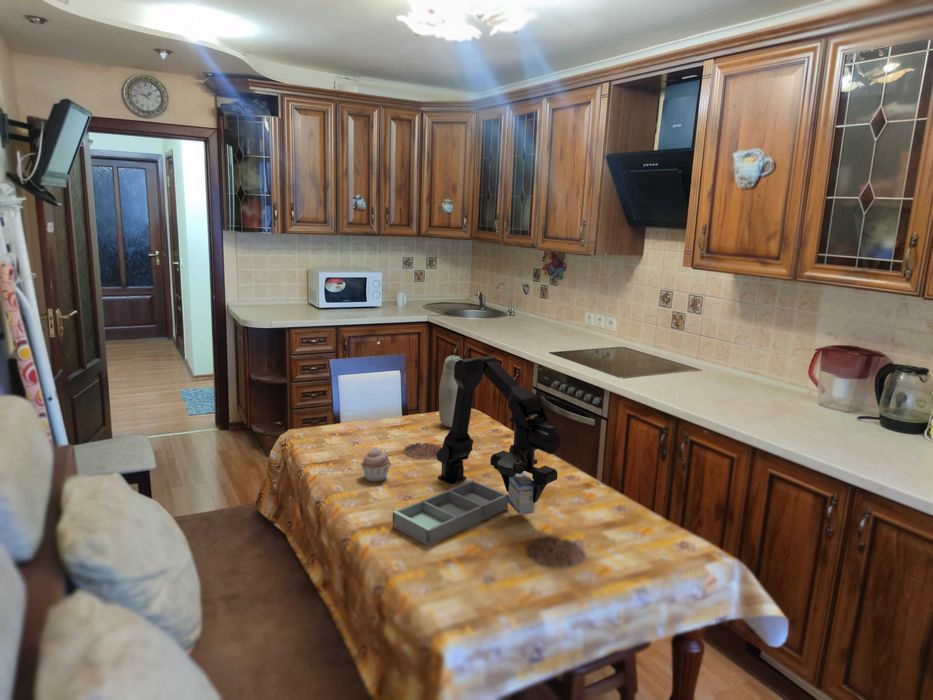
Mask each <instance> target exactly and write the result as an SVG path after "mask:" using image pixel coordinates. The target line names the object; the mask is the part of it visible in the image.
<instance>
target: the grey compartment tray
mask: <svg viewBox="0 0 933 700" xmlns="http://www.w3.org/2000/svg"><path fill="white" fill-rule="evenodd" d="M508 507H509V503H508V493H504V492H502V491H499V490H497V489H495V488H492V487H490V486H487V485H485V484H483V483H480V482H478V481H475V480H470V481H467V482H465V483H462V484H459V485H457V486H454V487H451V488H450V489H447V490H445V491H442V492H440V493H438V494H434V495H432V496H430V497H428V498H425V499H422V500H420V501H417V502H414V503H412V504H410V505H407V506H405V507H402V508H400V509H398V510H396V509H395V510H393V511H392V527H393V528H394V529H397V530H398V531H400V532H402V533H404V534H405V535H407V536H409V537H411V538H413V539H415V540H417V541H419V543H422V544H424V545H425V546H428V547H430V546H432V545H434V544H436V543H438V542H441V541H442V540H445V539H446V538H449V537H450V536H451V537H452V535H453V536H454V534H457V533H460V532H461V531H463V530H465V529H468V528H469V527H471V526H473V525H476V524H478V523H479V522H480V523H481V522H482V521H484V520H486V519H488V518H490V517H492V516H494V515H496V514H498V513H500V512H503V511H505V510H507V509H508Z"/></svg>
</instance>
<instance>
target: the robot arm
mask: <svg viewBox="0 0 933 700" xmlns="http://www.w3.org/2000/svg"><path fill="white" fill-rule="evenodd" d="M483 376H485V377H486V378H487V379H488V381H490V383H492V385H493V386H494V387H495V388H496V389H497V390H498V391H499V392H500V393H501V394H502V395H503V397H504V398H505V399H506V400H507V401H506V402H507V403H506V405H507V408H508V409H509V411H510V412H511V414H512V417H510V418H509V419H508V422H510V423H512V424H514V430H513V444H511V445H510V447H509V451H506V450H501V451H499V452H496V453H493V454H491V457H490V462H489V463H490V464H489V465H490V466H493V469H495V470H496V471H497V472H498V473H499V474H500V475H501V478H502V481H503V484H504V488H505V490H506V492H507V493H508V490H509V477H514V476H515V475H516V473H517V474H521V473H522V472H526V473H529V474H531V479H532V480H533V481H532V482H531V483H532V484H533V485H534V489H533V503H535V504H537V502H538V500H539V498H540V497H541V495H542V493H543V491H544V489H545V488H546V487H547V485H549V484H551V483H552V482H555V481H557V480H558V471H557V470H556V468H553V467H550V466H547V465H543V466H541V467H537V466H535V465H537V464H538V459H535V454H536V450H539V451H541V452H544V453H545V454H548V455H553V454H555V453H556V452H557V451H558V450H559V448H560V445H561V442H562V441H561V435H560V434H559V433H558V432H556V430H557V429H556V427H555V426H552V425H548V424H547V423H549V422H550V421H549V419H548V414H547V412H546V410H545V409H544V406H543V404H542V400H541V398H540V397H539V396H538V395H537V394H535V392H533V391H532V390H531V389H527V388H525V387H523V386H521V385H519V383H518V382H517V381H516V379H514V378H513V377H512V376H511V375H510V374H509V372H507V371H506V370H505V368H503V366H502V365H501V364H500V363H499V362H498V359H497V358H496V357H495V356H486V357H485V356H484V357H480V358H479V357H472V358H464V359H462V360H458V361H457V362H456V363H455V366H454V379H455V381H456V383H457V385H458V389H457V396H456V402H455V409H454V416H453V422H452V428H451V429H450V430H449V432H447V434H446V435H445V437H444V440H443V443H442V447H441V448H440V449H439V450H438V451H437V452H436V453H435V454H436V460H437V461H438V462H440V463H441V474H440V475H438V476H437V479H439V480H441V481H444V482H446V483H448V484H450V485H453V484H456V483H458V482H461V481H463V480H466V479H467V476H466V475H464V471H465V468H464V467H465V466H464V460H468V459H469V457H470V455H471V452H472V451H473V444H474V439H472V438H471V436H470V434H469V427H470V420H471V413H472V408H473V401H474V395H475V389H476V388H477V386H478V385H479V384H480V383H481V382H482V380H483ZM536 416H537V417H536ZM532 417H533V418H532Z"/></svg>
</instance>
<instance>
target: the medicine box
mask: <svg viewBox="0 0 933 700" xmlns="http://www.w3.org/2000/svg"><path fill="white" fill-rule="evenodd" d="M532 481H534V480H533V479H532V478H530V477H529V476H528V475H527V474H526V473H525V471H523V472H522V473H521V474H517V473H516V475H515V476H514V477H509V490H508V492H507V495H508V505H510V506H511V507H512V509H514V510H515V511H516V512H517V514H518V515H520V516H521V515H527V514H528V515H529V514H534V513H535V508H536V507H535V505H536V503H533V489H534V485H533V484H532V483H531V482H532Z"/></svg>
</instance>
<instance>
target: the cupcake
mask: <svg viewBox="0 0 933 700" xmlns="http://www.w3.org/2000/svg"><path fill="white" fill-rule="evenodd" d="M389 459H390V458H389V457H388V455H387V454H386V452H384V451H382V450H380V449H379V448H378V447H377V446H375V447H373V448H371V449H370V450H369V451H368V452H367V454H365V456H364V458H363V460H362V462H360V466H361V468H362V470H363V474H364V478H365V480H366V481H368V482H371V483H372V482H373V483H378V482H379V483H380V482H383V481H384V480H385V481H386V479H387V475H388V473H389V469H390V467H391V466H392V462H390V460H389Z"/></svg>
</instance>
